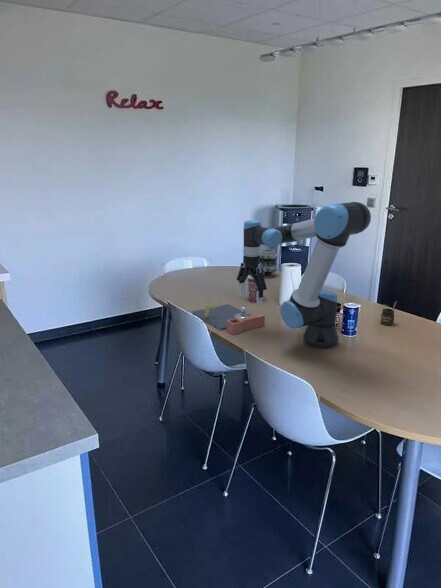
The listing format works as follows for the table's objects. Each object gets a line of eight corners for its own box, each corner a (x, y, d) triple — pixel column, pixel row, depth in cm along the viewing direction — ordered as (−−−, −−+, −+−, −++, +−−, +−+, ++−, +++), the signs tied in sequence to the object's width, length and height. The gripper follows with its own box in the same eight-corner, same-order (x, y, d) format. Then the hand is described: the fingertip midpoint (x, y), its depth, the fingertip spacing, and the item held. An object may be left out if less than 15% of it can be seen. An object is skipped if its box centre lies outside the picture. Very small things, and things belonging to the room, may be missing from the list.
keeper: (217, 317, 228) (217, 302, 226) (219, 321, 222) (218, 306, 220) (204, 318, 227) (204, 302, 225) (205, 322, 222) (205, 306, 219)
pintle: (246, 316, 226) (246, 307, 225) (242, 317, 225) (242, 308, 223) (244, 315, 228) (244, 306, 226) (240, 316, 227) (240, 306, 225)
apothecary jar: (277, 279, 297) (278, 251, 292) (259, 279, 298) (259, 252, 292) (275, 274, 309) (276, 248, 304) (258, 274, 309) (258, 248, 304)
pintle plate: (260, 321, 222) (260, 319, 222) (220, 330, 211) (220, 328, 211) (229, 306, 245) (229, 303, 245) (192, 313, 234) (192, 311, 234)
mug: (259, 303, 249) (260, 279, 245) (244, 301, 253) (244, 277, 249) (268, 297, 260) (268, 274, 256) (253, 295, 264) (254, 272, 260)
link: (259, 322, 221) (259, 313, 219) (266, 326, 216) (266, 316, 215) (226, 330, 211) (226, 320, 210) (232, 334, 207) (232, 324, 205)
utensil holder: (383, 320, 223) (386, 297, 219) (396, 324, 218) (399, 300, 215) (378, 323, 219) (380, 300, 215) (390, 327, 214) (393, 303, 211)
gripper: (275, 259, 196) (273, 306, 203) (243, 249, 217) (242, 291, 223) (261, 261, 193) (260, 308, 199) (229, 250, 213) (229, 294, 219)
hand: (250, 300), depth 211 cm, fingers open, 13 cm apart
